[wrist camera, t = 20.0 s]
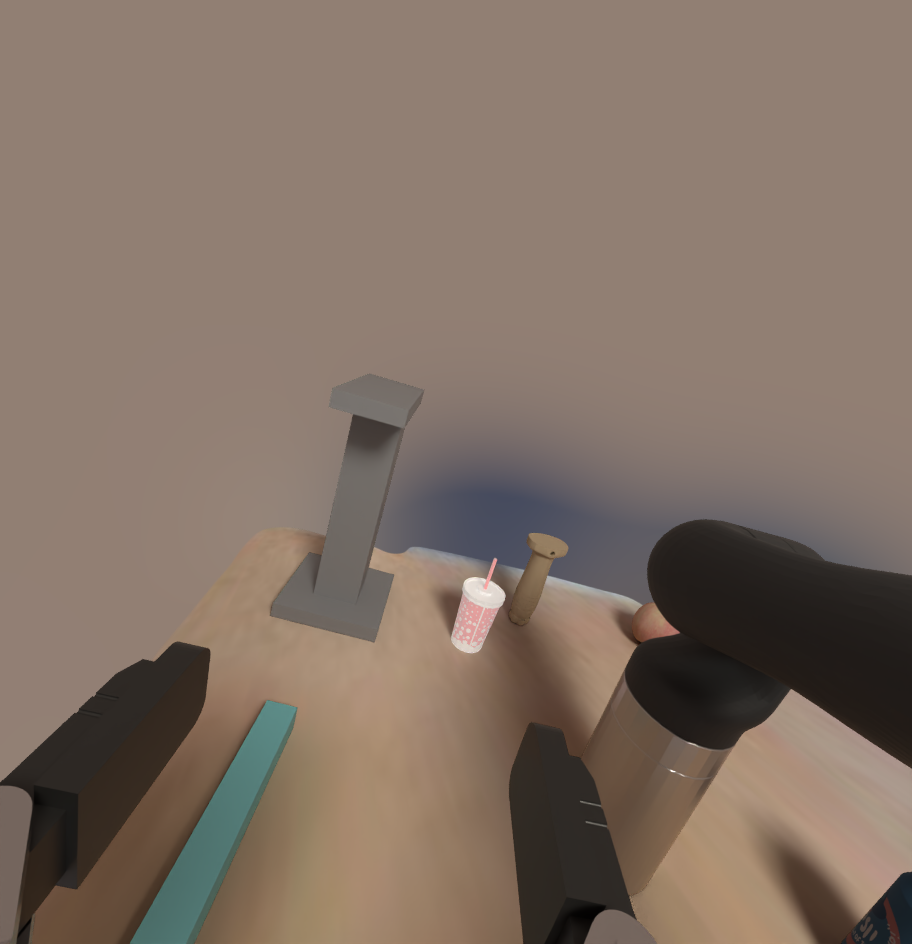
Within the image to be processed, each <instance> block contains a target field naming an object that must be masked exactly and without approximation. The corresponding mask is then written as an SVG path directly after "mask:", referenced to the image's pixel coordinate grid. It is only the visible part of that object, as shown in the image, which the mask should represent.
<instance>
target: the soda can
mask: <svg viewBox="0 0 912 944" xmlns="http://www.w3.org/2000/svg"><path fill="white" fill-rule="evenodd" d="M841 944H912V872H906V873H903V874H901V875H900V877H899V878H898V879H897V880H896V881H895V882H894V883H893V884H892V886H891V887H890V888H889V889H888V890H887V891H886V892H885V893H884V895H883V896H882V897H881V898H880V899H879V900H878V901H877V903H876V904H875V905H874V906H873V907H872V908H871V909H870V910H869V912H868V913H867V914H866V915H865V916H864V917H863V918H862V919H861V921H860V922H859V923H858V924H857V925H856V926H855V927H854V929H853V930H852V931H851V932H850V933H849V934H848V935H847V936H846V938H845V939H844V940H843V941H842V943H841Z"/></svg>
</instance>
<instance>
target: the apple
mask: <svg viewBox="0 0 912 944" xmlns="http://www.w3.org/2000/svg"><path fill="white" fill-rule="evenodd" d="M632 631H633V634H634V636H635V638H636V639H637V640H638V641H640V642H641V643H642V642H644V641H646V640H649V639H652V638H657V637H664V636H670V635H675V634H678V633H680V632H679V631H677V630H676V629H675V628H674V627H672V626H671V625H670V624H669V623H668V622H667V621H666V620H665V618H664V617H663V616H662V614H661V613H660V611H659V610H658V608H657V606H656V604H655V603H647V604H645V605H643V606H642V607H641V608H639V609H638V610H637V612H636V613H635V615H634V618H633V621H632Z"/></svg>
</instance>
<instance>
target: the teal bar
mask: <svg viewBox="0 0 912 944" xmlns="http://www.w3.org/2000/svg"><path fill="white" fill-rule="evenodd" d="M296 712H297V707H293V706H289V705H285V704H281V703H277V702H273V701H269V700H267V702H266V704H265V705H264V707H263V709H262V711H261V712H260V714H259V716H258V718H257V720H256V721H255V723H254V725H253V727H252V728H251V730H250V732H249V734H248V735H247V737H246V739H245V741H244V742H243V744H242V746H241V748H240V750H239V751H238V753H237V755H236V757H235V758H234V760H233V762H232V764H231V765H230V767H229V769H228V771H227V773H226V774H225V776H224V778H223V780H222V781H221V783H220V785H219V787H218V788H217V790H216V792H215V794H214V796H213V797H212V799H211V801H210V803H209V804H208V806H207V808H206V810H205V811H204V813H203V815H202V817H201V818H200V820H199V822H198V824H197V826H196V827H195V829H194V831H193V833H192V834H191V836H190V838H189V840H188V841H187V843H186V845H185V847H184V849H183V850H182V852H181V854H180V856H179V857H178V859H177V861H176V863H175V864H174V866H173V868H172V870H171V871H170V873H169V875H168V877H167V879H166V880H165V882H164V884H163V886H162V887H161V889H160V891H159V893H158V894H157V896H156V898H155V900H154V902H153V903H152V905H151V907H150V909H149V910H148V912H147V914H146V916H145V917H144V919H143V921H142V923H141V925H140V926H139V928H138V930H137V932H136V933H135V935H134V937H133V939H132V940H131V942H130V944H194V943H195V940H196V938H197V936H198V934H199V932H200V930H201V927H202V925H203V923H204V921H205V919H206V916H207V914H208V912H209V910H210V908H211V906H212V903H213V901H214V899H215V897H216V895H217V893H218V890H219V888H220V886H221V884H222V882H223V879H224V877H225V875H226V873H227V871H228V869H229V866H230V864H231V862H232V860H233V858H234V856H235V853H236V851H237V849H238V847H239V845H240V842H241V840H242V838H243V836H244V834H245V832H246V829H247V827H248V825H249V823H250V821H251V819H252V816H253V814H254V812H255V810H256V808H257V805H258V803H259V801H260V799H261V797H262V795H263V792H264V790H265V788H266V786H267V784H268V782H269V779H270V777H271V775H272V773H273V771H274V768H275V766H276V764H277V762H278V760H279V758H280V755H281V753H282V751H283V749H284V747H285V745H286V742H287V740H288V738H289V736H290V734H291V731H292V729H293V726H294V722H295V717H296Z"/></svg>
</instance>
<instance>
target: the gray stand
mask: <svg viewBox="0 0 912 944" xmlns="http://www.w3.org/2000/svg"><path fill="white" fill-rule="evenodd" d="M423 393H424V390H423V389H420V388H416V387H413V386H410V385H406V384H403V383H399V382H396V381H393V380H389V379H386V378H383V377H379V376H376V375H372V374H367V375H365V376H362V377H359V378H357V379H354V380H352V381H349V382H347V383H344V384H341V385H339V386H336V387H334V388H333V389H332V393H331V399H330V403H329V407H331V408H334V409H338V410H341V411H345V412H348V413H352V414H353V417H352V422H351V426H350V431H349V435H348V440H347V444H346V449H345V453H344V458H343V462H342V467H341V472H340V476H339V481H338V485H337V490H336V494H335V498H334V503H333V508H332V512H331V516H330V521H329V525H328V530H327V535H326V539H325V544H324V548H323V553H322V555H318V554H314V553H311V552H309V553H308V555H307V556H306V558H305V559H304V560H303V562H302V563H301V565H300V566H299V567H298V569H297V570H296V572H295V573H294V574H293V576H292V577H291V579H290V580H289V581H288V583H287V584H286V586H285V587H284V588H283V590H282V591H281V592H280V594H279V595H278V597H277V598H276V599H275V601H274V602H273V605H272V610H271V615H270V616H273V617H277V618H281V619H285V620H289V621H293V622H297V623H301V624H305V625H309V626H313V627H317V628H320V629H324V630H328V631H332V632H336V633H340V634H344V635H348V636H352V637H356V638H360V639H364V640H368V641H372V642H375V639H376V636H377V632H378V629H379V625H380V622H381V619H382V615H383V612H384V608H385V605H386V602H387V598H388V595H389V591H390V588H391V584H392V581H393V577H394V574H390V573H386V572H382V571H379V570H375V569H371V568H369V564H370V560H371V556H372V552H373V548H374V544H375V541H376V536H377V533H378V529H379V525H380V521H381V518H382V513H383V510H384V506H385V502H386V498H387V495H388V490H389V487H390V483H391V479H392V475H393V471H394V468H395V464H396V460H397V456H398V452H399V448H400V444H401V441H402V437H403V433H404V429H405V427H406V425H407V423H408V422H409V420H410V419H411V417H412V416H413V414H414V413H415V411H416V410H417V408H418V407H419V405H420V404H421V400H422V396H423Z"/></svg>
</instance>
